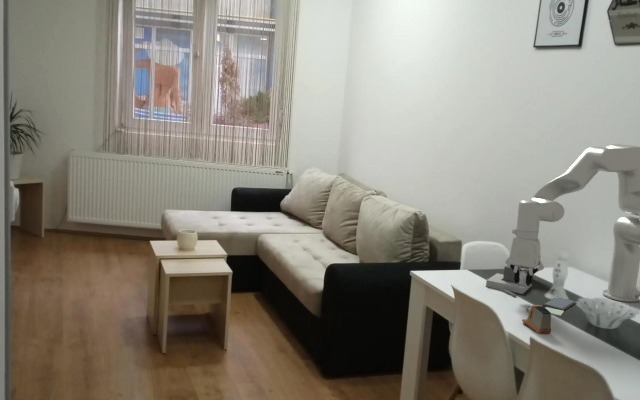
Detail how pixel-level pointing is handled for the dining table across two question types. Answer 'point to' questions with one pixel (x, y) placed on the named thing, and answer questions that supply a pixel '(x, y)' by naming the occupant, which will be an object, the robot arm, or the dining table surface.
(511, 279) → the charger
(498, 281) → the plate
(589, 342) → the dining table surface
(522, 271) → the plug
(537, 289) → the dining table surface
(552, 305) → the phone
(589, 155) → the robot arm
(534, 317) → the electronic device
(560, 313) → the pad
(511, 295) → the cable
